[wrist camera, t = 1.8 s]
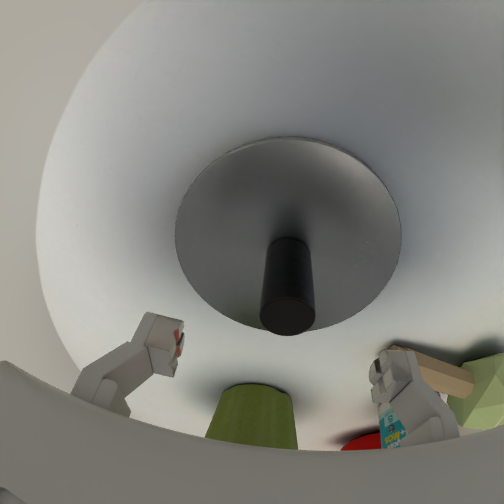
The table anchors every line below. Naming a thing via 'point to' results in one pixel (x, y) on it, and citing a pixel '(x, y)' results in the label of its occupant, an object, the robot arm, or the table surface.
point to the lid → (288, 235)
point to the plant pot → (254, 418)
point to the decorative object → (468, 388)
